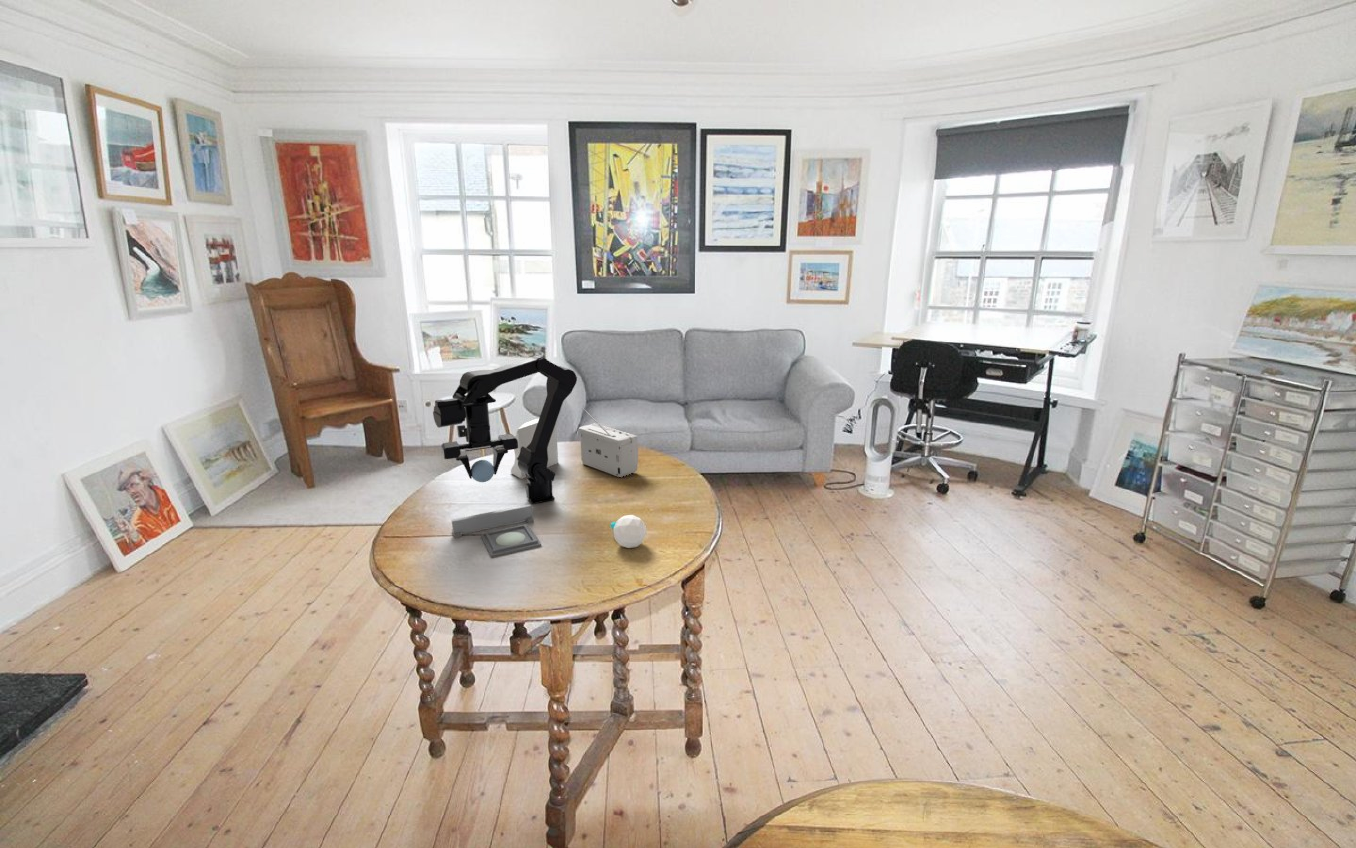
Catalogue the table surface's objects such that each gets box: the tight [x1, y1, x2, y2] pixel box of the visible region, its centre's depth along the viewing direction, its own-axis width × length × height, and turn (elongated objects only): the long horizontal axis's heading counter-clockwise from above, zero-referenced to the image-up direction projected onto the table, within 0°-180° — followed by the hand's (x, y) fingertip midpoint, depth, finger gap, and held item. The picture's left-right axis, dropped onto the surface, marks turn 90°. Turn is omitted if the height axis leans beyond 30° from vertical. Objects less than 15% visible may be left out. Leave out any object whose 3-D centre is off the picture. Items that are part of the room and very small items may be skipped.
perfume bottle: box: [610, 514, 647, 549], centre depth 146 cm, size 8×8×12 cm
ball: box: [470, 459, 494, 483], centre depth 158 cm, size 6×6×6 cm
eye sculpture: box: [510, 418, 559, 480], centre depth 193 cm, size 17×12×16 cm
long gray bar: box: [451, 503, 535, 539], centre depth 154 cm, size 20×4×4 cm, turn 119°
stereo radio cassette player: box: [578, 407, 639, 478], centre depth 192 cm, size 21×8×20 cm, turn 49°
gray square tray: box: [480, 523, 542, 558], centre depth 147 cm, size 12×12×1 cm
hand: (482, 476), depth 159 cm, fingers closed on ball, 6 cm apart
